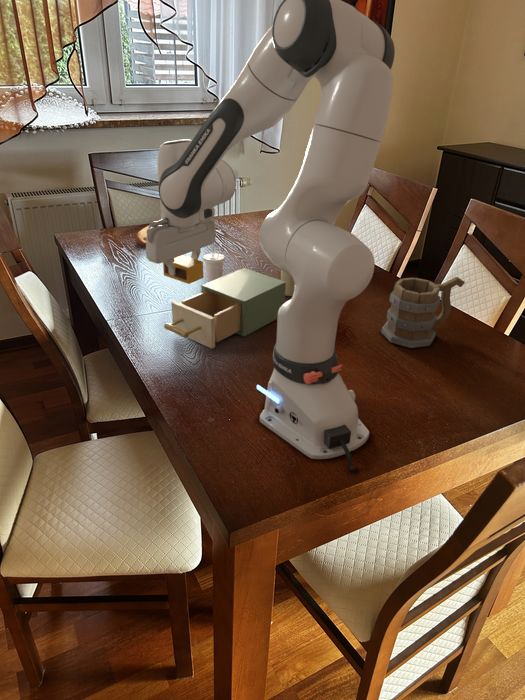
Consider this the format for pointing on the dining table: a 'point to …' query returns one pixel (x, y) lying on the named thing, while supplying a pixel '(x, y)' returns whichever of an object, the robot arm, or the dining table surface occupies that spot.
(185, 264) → the matchbox
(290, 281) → the candle
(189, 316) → the drawer
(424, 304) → the tankard
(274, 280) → the cabinet
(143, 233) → the slice of bread
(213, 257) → the smoothie
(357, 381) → the dining table surface
